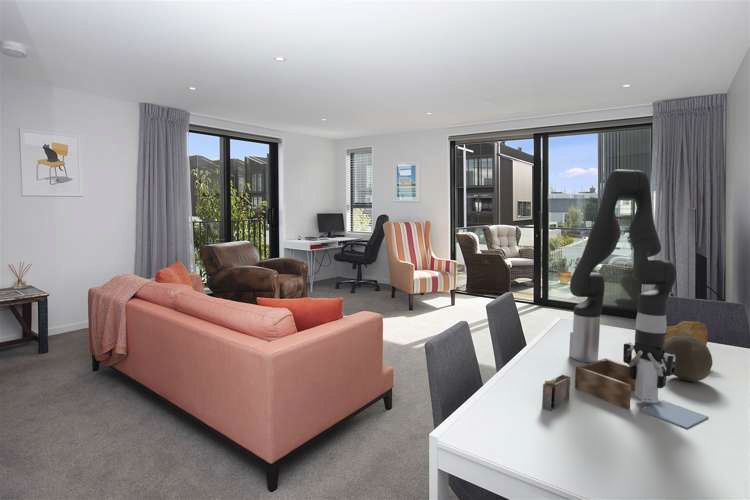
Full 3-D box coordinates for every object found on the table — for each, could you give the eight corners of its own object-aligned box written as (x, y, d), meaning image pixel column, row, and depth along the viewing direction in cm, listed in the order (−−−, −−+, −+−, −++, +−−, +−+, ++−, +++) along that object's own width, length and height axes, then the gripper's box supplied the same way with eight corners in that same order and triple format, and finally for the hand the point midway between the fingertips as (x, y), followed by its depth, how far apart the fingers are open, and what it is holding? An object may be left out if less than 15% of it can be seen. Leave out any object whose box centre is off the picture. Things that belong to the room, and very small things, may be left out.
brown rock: (689, 372, 158) (692, 330, 156) (721, 388, 144) (725, 343, 142) (650, 372, 157) (653, 330, 156) (678, 388, 143) (682, 343, 142)
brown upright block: (551, 413, 127) (553, 380, 126) (541, 409, 129) (543, 377, 128) (570, 401, 134) (572, 370, 133) (561, 398, 137) (562, 367, 136)
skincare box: (658, 403, 128) (660, 363, 127) (641, 402, 129) (644, 362, 128) (649, 394, 134) (652, 356, 133) (634, 393, 135) (636, 355, 134)
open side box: (574, 388, 143) (575, 367, 143) (604, 378, 151) (605, 358, 151) (627, 409, 129) (629, 385, 128) (657, 396, 137) (658, 374, 136)
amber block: (708, 357, 175) (710, 319, 175) (706, 365, 162) (707, 324, 162) (640, 347, 190) (641, 312, 189) (633, 354, 177) (634, 316, 177)
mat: (640, 410, 128) (640, 409, 128) (662, 401, 134) (662, 400, 134) (686, 428, 117) (686, 427, 117) (708, 417, 124) (708, 416, 123)
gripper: (618, 324, 134) (615, 377, 136) (670, 336, 122) (666, 394, 123) (633, 321, 138) (629, 373, 139) (684, 332, 125) (680, 389, 127)
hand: (646, 383), depth 131 cm, fingers closed on skincare box, 7 cm apart
